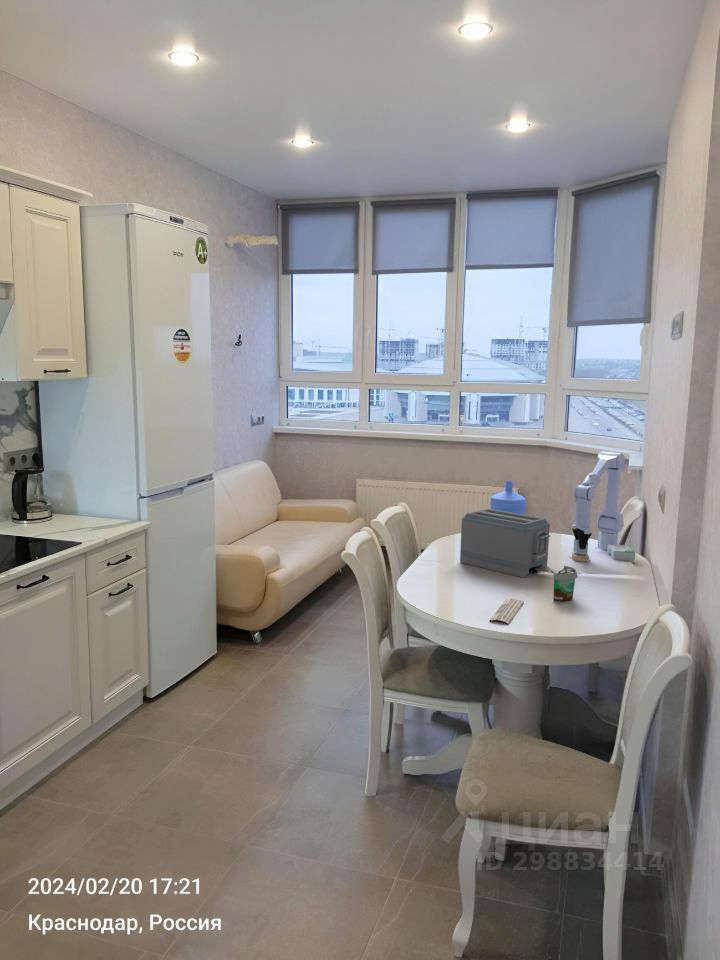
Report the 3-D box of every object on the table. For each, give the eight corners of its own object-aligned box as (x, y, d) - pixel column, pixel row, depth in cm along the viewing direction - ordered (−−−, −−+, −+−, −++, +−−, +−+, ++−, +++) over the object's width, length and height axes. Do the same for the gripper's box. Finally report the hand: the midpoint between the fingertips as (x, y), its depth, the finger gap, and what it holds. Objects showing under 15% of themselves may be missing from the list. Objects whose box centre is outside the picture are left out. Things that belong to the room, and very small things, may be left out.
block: (573, 551, 298) (574, 539, 298) (584, 551, 298) (584, 539, 298) (576, 554, 294) (577, 542, 293) (587, 554, 294) (588, 542, 293)
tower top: (572, 556, 300) (572, 552, 300) (587, 557, 299) (587, 553, 299) (573, 560, 294) (573, 555, 294) (588, 561, 293) (589, 556, 293)
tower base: (567, 561, 300) (568, 557, 299) (583, 561, 301) (583, 556, 301) (575, 566, 293) (575, 561, 293) (591, 565, 294) (591, 561, 294)
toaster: (531, 580, 270) (534, 526, 267) (458, 562, 293) (460, 513, 289) (556, 571, 283) (559, 520, 280) (484, 555, 306) (487, 507, 303)
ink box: (614, 550, 297) (607, 543, 309) (612, 562, 298) (606, 554, 309) (635, 551, 296) (628, 544, 308) (634, 564, 297) (627, 556, 309)
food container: (570, 605, 242) (572, 576, 240) (552, 602, 245) (553, 573, 243) (580, 596, 252) (582, 568, 251) (562, 592, 255) (564, 565, 254)
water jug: (527, 547, 320) (530, 484, 316) (491, 546, 320) (494, 484, 316) (519, 539, 335) (523, 479, 331) (485, 538, 335) (488, 478, 331)
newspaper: (508, 627, 222) (508, 621, 222) (485, 623, 225) (485, 617, 224) (523, 605, 243) (523, 599, 243) (502, 601, 246) (502, 596, 246)
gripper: (567, 511, 301) (565, 543, 303) (578, 518, 287) (575, 551, 289) (584, 511, 301) (582, 543, 303) (596, 518, 287) (593, 552, 289)
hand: (580, 547), depth 296 cm, fingers closed on block, 4 cm apart
